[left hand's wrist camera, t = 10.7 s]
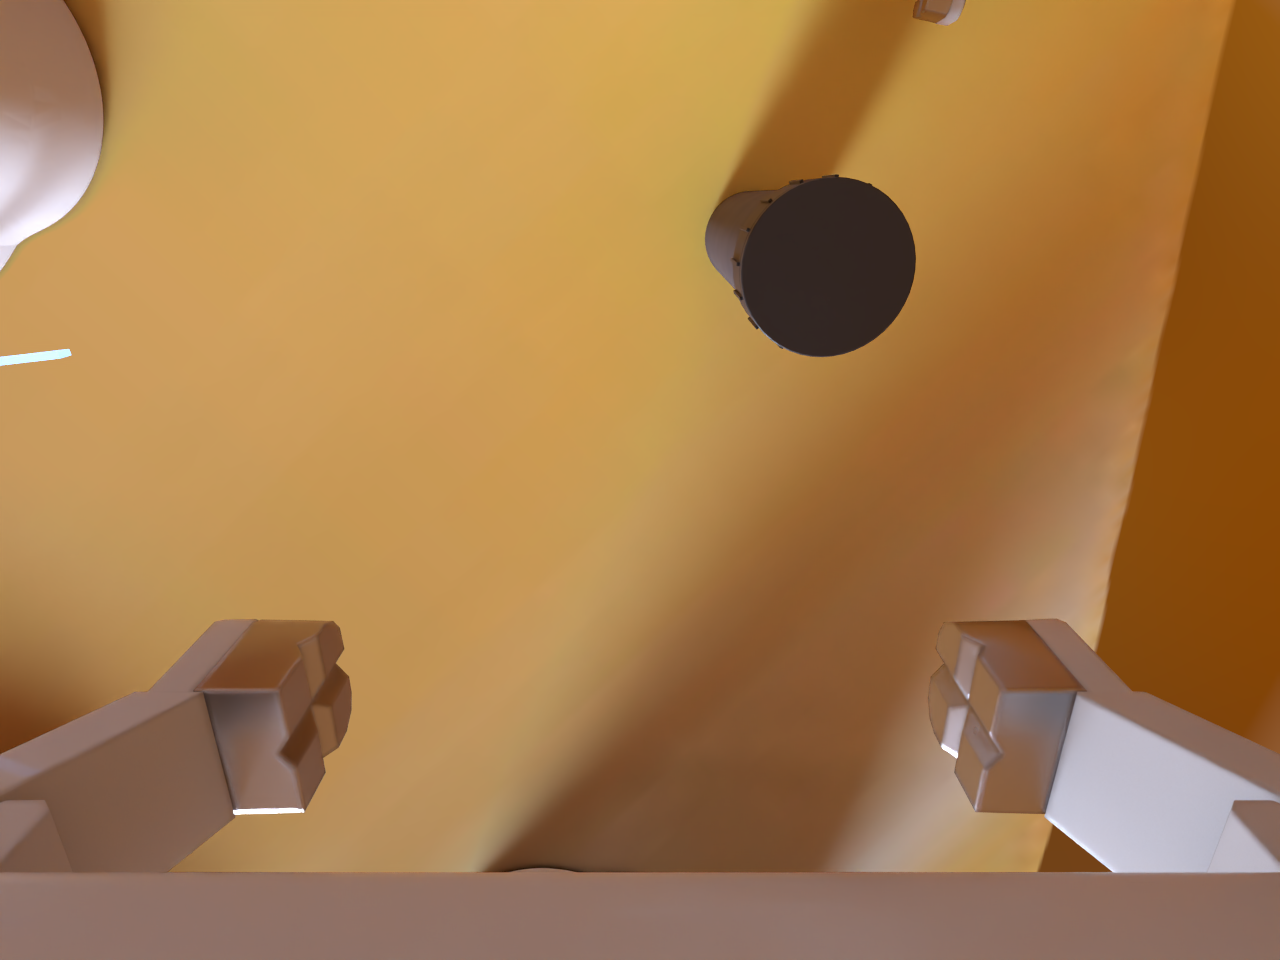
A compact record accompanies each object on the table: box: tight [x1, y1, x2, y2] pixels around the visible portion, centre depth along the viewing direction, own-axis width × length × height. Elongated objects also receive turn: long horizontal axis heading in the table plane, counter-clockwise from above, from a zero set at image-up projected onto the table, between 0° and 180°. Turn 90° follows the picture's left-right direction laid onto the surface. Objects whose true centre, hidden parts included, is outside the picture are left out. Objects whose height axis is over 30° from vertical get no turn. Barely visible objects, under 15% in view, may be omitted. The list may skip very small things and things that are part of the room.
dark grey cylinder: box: [705, 190, 777, 290], centre depth 31 cm, size 4×4×18 cm
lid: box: [731, 174, 916, 357], centre depth 23 cm, size 5×5×2 cm
